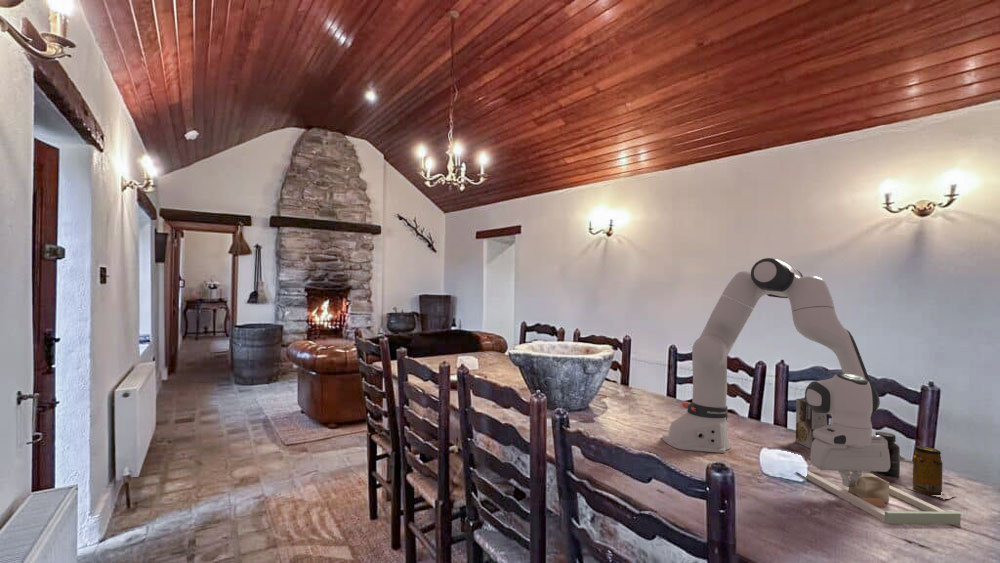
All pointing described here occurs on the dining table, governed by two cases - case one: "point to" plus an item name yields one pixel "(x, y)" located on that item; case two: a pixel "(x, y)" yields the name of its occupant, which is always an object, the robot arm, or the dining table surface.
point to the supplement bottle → (891, 454)
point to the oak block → (871, 487)
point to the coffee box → (808, 423)
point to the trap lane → (893, 517)
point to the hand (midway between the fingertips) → (849, 486)
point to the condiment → (927, 471)
